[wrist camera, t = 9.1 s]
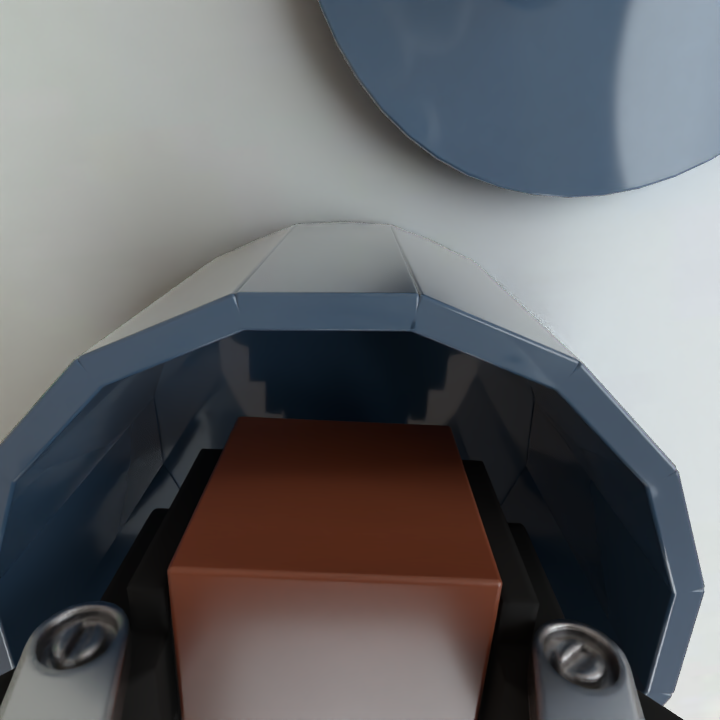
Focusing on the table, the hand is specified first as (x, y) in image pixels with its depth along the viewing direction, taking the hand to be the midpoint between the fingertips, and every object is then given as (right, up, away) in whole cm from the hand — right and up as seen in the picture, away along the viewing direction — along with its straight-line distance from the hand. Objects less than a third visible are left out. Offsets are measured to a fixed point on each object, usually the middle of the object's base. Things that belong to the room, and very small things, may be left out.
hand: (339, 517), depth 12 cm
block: (0, 0, 0) cm, 0 cm away
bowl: (0, +2, +4) cm, 4 cm away
